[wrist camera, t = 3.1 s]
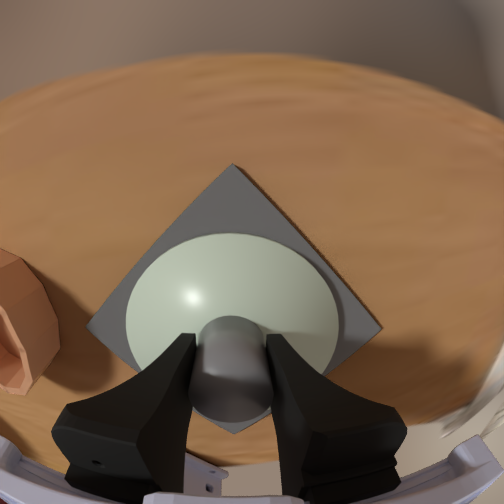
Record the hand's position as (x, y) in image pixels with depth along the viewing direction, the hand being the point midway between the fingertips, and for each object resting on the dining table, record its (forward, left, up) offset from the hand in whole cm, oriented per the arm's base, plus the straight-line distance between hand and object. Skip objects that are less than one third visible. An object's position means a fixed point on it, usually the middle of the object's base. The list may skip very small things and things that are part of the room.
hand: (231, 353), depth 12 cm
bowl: (+10, +10, -2) cm, 14 cm away
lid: (0, 0, -1) cm, 1 cm away
